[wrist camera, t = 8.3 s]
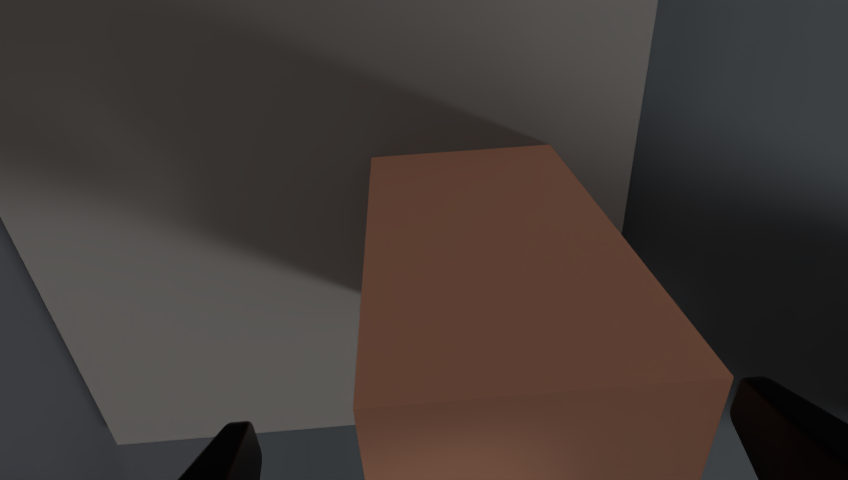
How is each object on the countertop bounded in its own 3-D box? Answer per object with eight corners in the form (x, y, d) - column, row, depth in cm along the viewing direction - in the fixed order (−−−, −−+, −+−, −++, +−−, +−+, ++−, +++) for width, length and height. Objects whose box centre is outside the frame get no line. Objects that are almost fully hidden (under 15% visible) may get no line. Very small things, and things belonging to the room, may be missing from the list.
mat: (659, -89, 13) (671, -90, 12) (589, 392, 21) (595, 404, 20) (-111, -43, 12) (-133, -42, 12) (124, 431, 20) (117, 444, 20)
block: (549, 144, 15) (734, 377, 7) (539, 290, 17) (666, 582, 9) (371, 157, 15) (353, 409, 7) (387, 302, 17) (387, 608, 9)
